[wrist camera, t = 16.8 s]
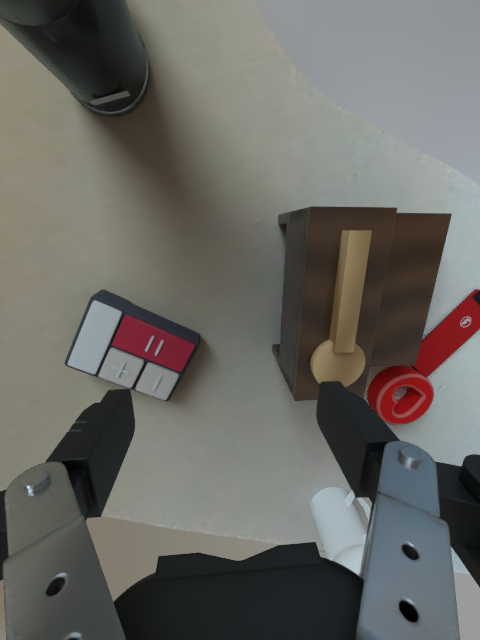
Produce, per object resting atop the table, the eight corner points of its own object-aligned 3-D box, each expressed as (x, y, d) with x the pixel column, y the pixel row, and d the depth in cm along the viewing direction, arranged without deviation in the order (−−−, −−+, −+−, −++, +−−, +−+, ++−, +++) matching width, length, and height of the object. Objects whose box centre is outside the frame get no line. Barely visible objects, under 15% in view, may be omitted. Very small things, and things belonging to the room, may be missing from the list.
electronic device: (423, 376, 46) (495, 310, 43) (426, 378, 45) (499, 311, 42) (403, 358, 44) (476, 288, 41) (405, 359, 44) (479, 288, 41)
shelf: (278, 214, 36) (311, 206, 23) (416, 216, 37) (514, 209, 25) (271, 351, 42) (294, 401, 30) (389, 347, 44) (458, 393, 31)
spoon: (307, 385, 29) (312, 393, 28) (322, 230, 24) (329, 230, 23) (356, 383, 30) (364, 391, 28) (381, 230, 25) (392, 230, 23)
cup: (367, 478, 53) (400, 533, 43) (336, 520, 56) (361, 580, 46) (332, 468, 51) (358, 522, 41) (302, 511, 54) (320, 571, 45)
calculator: (167, 405, 39) (60, 368, 35) (170, 389, 43) (74, 353, 39) (200, 344, 37) (89, 296, 33) (200, 332, 41) (101, 288, 37)
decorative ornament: (428, 394, 47) (442, 405, 44) (380, 422, 48) (391, 435, 45) (409, 355, 44) (423, 363, 41) (358, 385, 45) (368, 396, 42)
